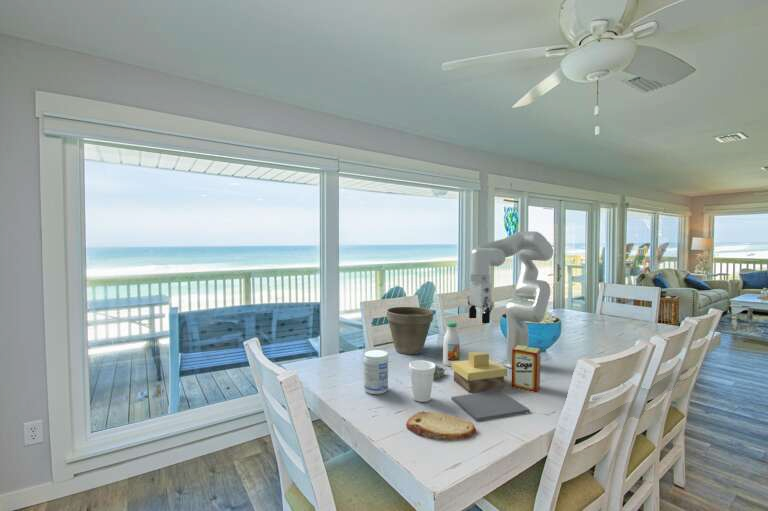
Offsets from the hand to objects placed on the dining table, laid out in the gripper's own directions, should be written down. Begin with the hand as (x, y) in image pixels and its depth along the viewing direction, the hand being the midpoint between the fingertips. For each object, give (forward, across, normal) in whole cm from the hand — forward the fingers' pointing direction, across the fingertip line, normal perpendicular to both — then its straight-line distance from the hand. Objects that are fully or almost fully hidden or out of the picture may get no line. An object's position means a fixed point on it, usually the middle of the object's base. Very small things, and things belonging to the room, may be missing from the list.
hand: (479, 320), depth 149 cm
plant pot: (+27, +51, +10) cm, 58 cm away
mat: (+27, -18, +7) cm, 33 cm away
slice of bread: (+28, -27, +30) cm, 49 cm away
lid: (+21, 0, 0) cm, 21 cm away
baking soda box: (+27, -8, -17) cm, 33 cm away
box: (+26, 0, 0) cm, 27 cm away
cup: (+27, -6, +28) cm, 39 cm away
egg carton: (+27, +14, +14) cm, 33 cm away
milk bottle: (+27, +25, -1) cm, 36 cm away
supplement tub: (+27, +7, +42) cm, 50 cm away
